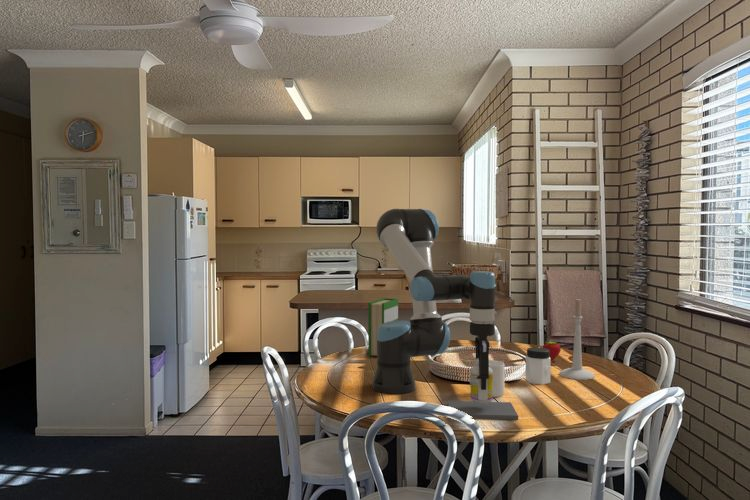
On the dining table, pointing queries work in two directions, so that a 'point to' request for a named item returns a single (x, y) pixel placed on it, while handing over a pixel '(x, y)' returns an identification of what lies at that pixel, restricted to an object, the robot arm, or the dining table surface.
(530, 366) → the jar
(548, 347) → the strawberry
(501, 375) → the mug
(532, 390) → the dining table surface
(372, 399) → the dining table surface
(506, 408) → the mat
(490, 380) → the supplement bottle
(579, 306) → the candlestick
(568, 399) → the dining table surface
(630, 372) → the dining table surface
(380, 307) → the hardback book
